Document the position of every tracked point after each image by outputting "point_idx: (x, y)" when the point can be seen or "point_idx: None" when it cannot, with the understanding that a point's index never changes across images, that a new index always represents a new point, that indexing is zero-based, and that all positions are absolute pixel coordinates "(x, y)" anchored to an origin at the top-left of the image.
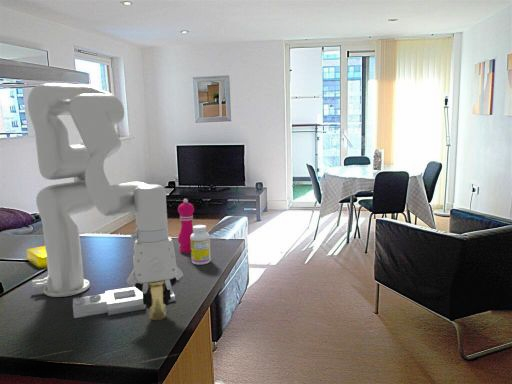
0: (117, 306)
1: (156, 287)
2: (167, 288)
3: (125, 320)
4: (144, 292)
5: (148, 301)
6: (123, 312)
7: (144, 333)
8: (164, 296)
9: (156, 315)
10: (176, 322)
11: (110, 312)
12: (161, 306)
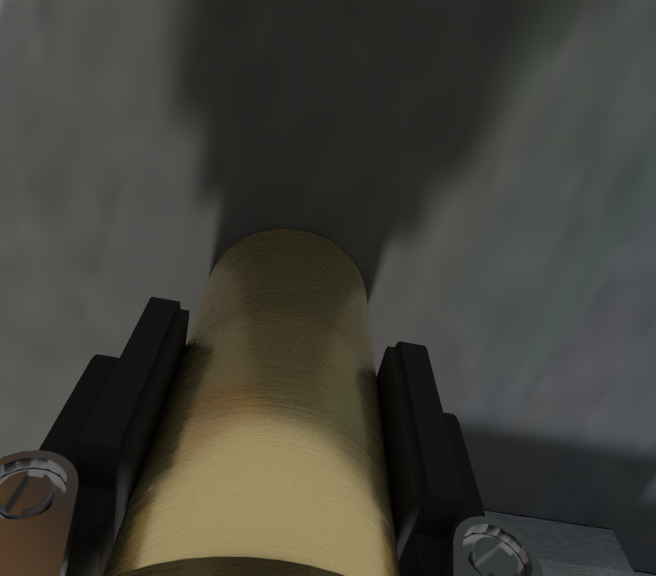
0: (561, 573)
1: (290, 547)
2: (66, 491)
3: (561, 389)
4: (493, 540)
5: (422, 399)
6: (499, 513)
7: (580, 4)
8: (168, 406)
9: (327, 261)
10: (155, 51)
11: (601, 543)
12: (254, 301)
